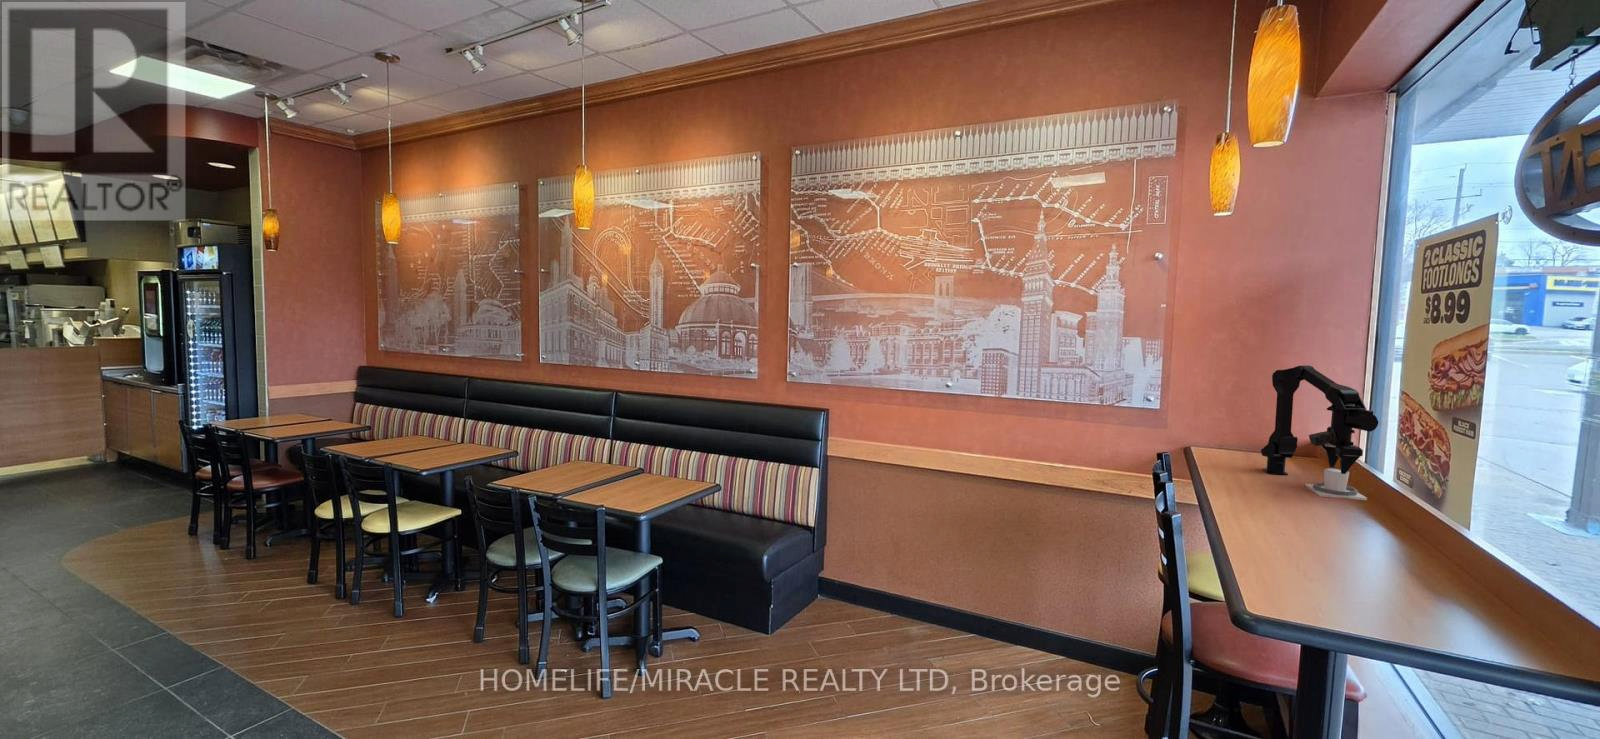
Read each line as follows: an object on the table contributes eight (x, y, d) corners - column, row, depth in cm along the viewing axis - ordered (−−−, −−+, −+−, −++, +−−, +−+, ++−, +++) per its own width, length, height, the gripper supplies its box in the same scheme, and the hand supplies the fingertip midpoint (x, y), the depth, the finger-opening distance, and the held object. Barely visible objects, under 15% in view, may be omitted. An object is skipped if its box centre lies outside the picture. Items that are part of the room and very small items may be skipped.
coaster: (1304, 485, 234) (1305, 480, 234) (1349, 489, 230) (1349, 483, 230) (1319, 496, 222) (1320, 490, 222) (1366, 500, 218) (1367, 494, 218)
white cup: (1352, 493, 223) (1354, 473, 222) (1332, 493, 223) (1334, 473, 222) (1336, 487, 229) (1338, 468, 229) (1316, 487, 230) (1318, 467, 229)
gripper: (1302, 419, 235) (1298, 462, 236) (1324, 429, 217) (1320, 475, 219) (1340, 421, 231) (1336, 464, 233) (1365, 431, 214) (1361, 478, 215)
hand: (1337, 470), depth 225 cm, fingers open, 9 cm apart
